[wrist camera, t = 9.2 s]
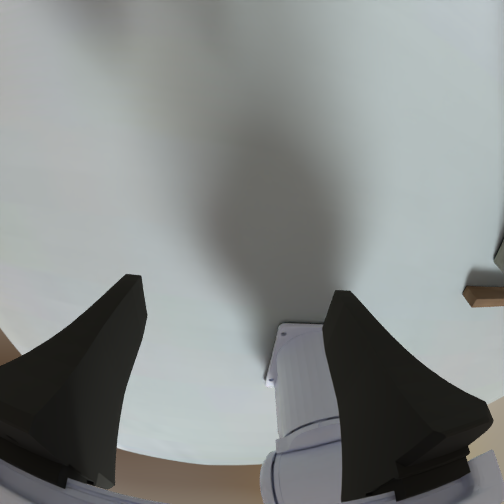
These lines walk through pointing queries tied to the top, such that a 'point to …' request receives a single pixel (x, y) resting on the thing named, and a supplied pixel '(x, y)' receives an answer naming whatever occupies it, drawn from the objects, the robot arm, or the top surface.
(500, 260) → the skincare box
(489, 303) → the walnut bay
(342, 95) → the top surface
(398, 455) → the robot arm
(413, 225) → the top surface
